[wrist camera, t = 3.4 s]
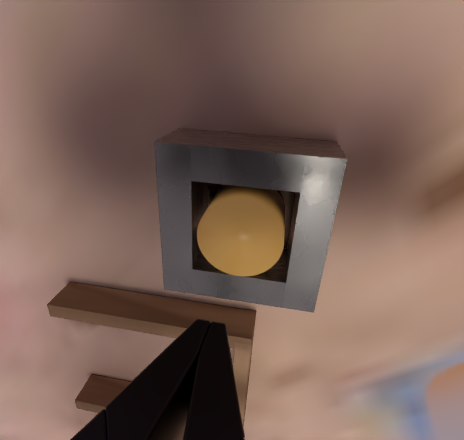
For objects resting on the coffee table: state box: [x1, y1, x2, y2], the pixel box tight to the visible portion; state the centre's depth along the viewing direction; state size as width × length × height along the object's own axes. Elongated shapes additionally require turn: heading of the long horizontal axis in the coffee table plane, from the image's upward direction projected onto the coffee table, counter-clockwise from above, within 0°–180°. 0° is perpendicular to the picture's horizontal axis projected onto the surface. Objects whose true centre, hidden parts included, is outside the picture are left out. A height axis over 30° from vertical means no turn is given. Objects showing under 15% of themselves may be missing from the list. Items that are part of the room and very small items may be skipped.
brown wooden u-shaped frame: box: [47, 282, 256, 424], centre depth 23 cm, size 11×14×2 cm
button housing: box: [155, 128, 347, 312], centre depth 16 cm, size 8×8×3 cm
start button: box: [197, 185, 285, 276], centre depth 15 cm, size 4×4×3 cm
